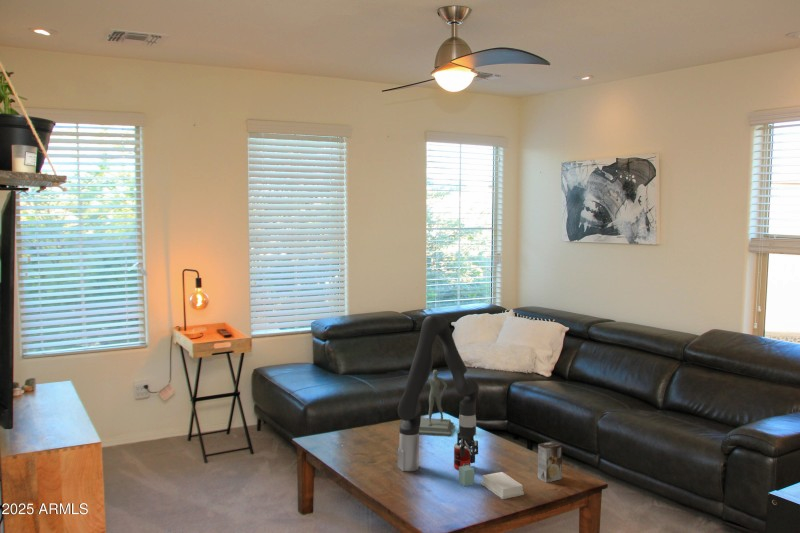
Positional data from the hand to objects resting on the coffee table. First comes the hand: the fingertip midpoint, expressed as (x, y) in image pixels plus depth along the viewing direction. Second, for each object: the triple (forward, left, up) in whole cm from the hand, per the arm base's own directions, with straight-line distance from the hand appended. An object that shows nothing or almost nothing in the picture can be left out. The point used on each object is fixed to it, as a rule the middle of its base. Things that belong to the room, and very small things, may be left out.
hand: (467, 459), depth 294 cm
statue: (+20, +70, -11) cm, 74 cm away
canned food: (+7, +16, -11) cm, 21 cm away
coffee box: (+37, -11, -11) cm, 40 cm away
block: (0, 0, -11) cm, 11 cm away
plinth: (+11, -12, -11) cm, 19 cm away
